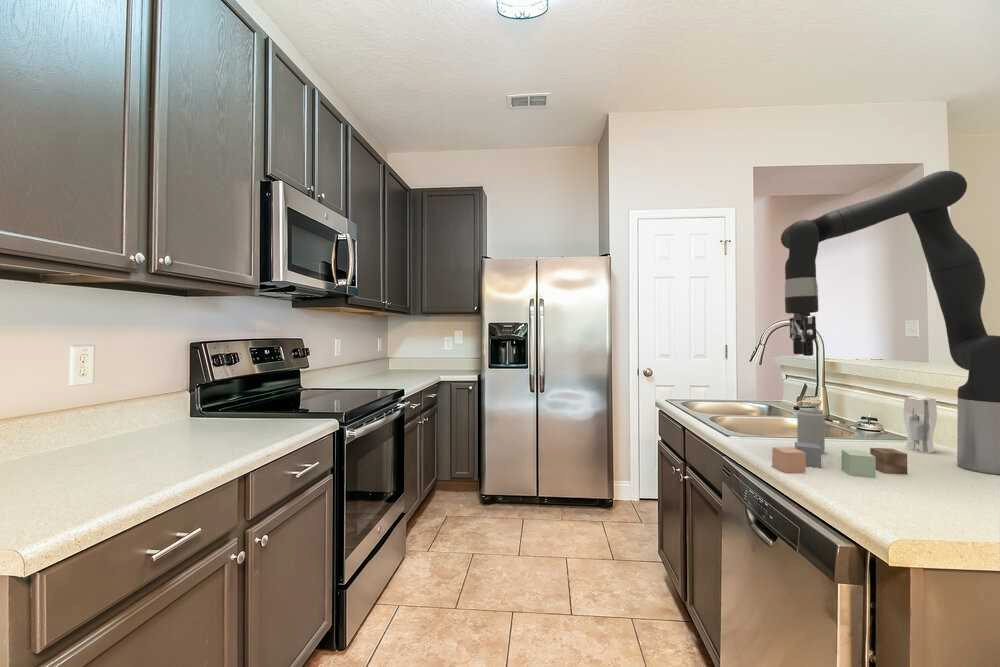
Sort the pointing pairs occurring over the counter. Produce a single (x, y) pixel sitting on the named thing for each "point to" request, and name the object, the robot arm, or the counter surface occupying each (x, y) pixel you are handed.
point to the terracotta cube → (789, 459)
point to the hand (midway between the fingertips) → (803, 355)
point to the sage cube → (858, 463)
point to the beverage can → (811, 427)
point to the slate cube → (810, 453)
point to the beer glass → (920, 423)
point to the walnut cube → (890, 460)
